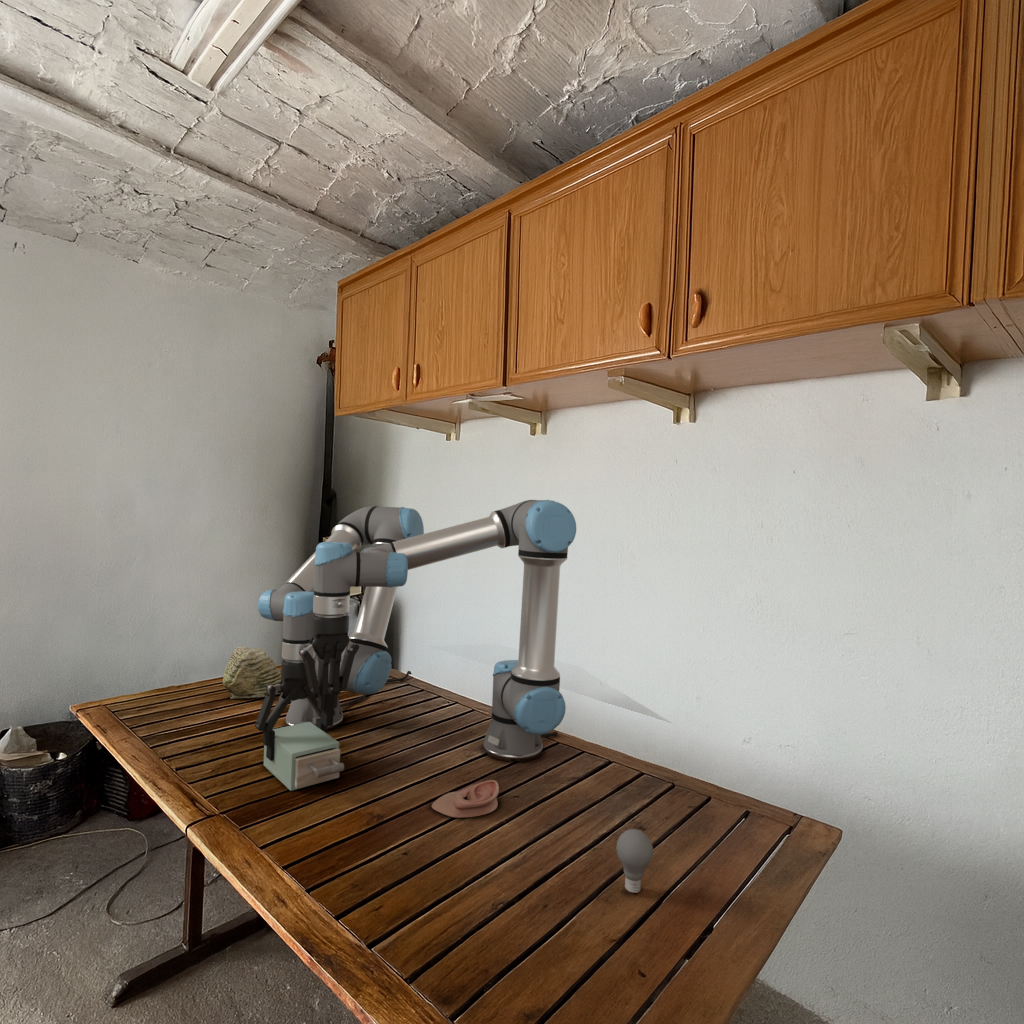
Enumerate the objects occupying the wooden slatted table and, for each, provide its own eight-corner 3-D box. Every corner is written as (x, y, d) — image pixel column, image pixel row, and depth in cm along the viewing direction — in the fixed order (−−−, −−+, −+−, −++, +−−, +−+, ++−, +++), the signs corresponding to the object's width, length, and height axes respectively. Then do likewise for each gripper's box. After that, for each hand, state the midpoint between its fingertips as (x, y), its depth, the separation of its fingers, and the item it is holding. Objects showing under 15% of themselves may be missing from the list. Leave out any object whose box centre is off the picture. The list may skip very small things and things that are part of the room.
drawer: (351, 787, 137) (352, 758, 137) (308, 799, 130) (309, 770, 130) (311, 755, 152) (312, 729, 152) (271, 765, 146) (272, 738, 146)
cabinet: (338, 778, 143) (339, 742, 143) (290, 791, 136) (292, 753, 136) (308, 754, 155) (309, 721, 155) (263, 765, 148) (264, 730, 148)
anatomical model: (427, 794, 128) (444, 771, 139) (426, 813, 128) (443, 788, 139) (490, 803, 125) (503, 779, 137) (489, 823, 126) (502, 797, 137)
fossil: (218, 695, 195) (220, 647, 195) (278, 685, 208) (279, 640, 207) (228, 703, 189) (230, 653, 188) (289, 692, 201) (290, 645, 201)
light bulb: (610, 879, 108) (613, 822, 108) (644, 879, 109) (647, 822, 109) (619, 902, 102) (622, 840, 102) (655, 901, 103) (658, 840, 103)
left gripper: (253, 669, 137) (249, 770, 137) (352, 656, 152) (348, 746, 153) (241, 662, 142) (237, 759, 143) (338, 649, 158) (334, 737, 158)
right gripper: (309, 620, 128) (304, 736, 128) (367, 614, 137) (362, 723, 137) (294, 614, 134) (290, 725, 134) (350, 609, 142) (346, 713, 143)
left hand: (295, 752), depth 148 cm, fingers closed on cabinet, 11 cm apart
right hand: (326, 724), depth 136 cm, fingers closed
